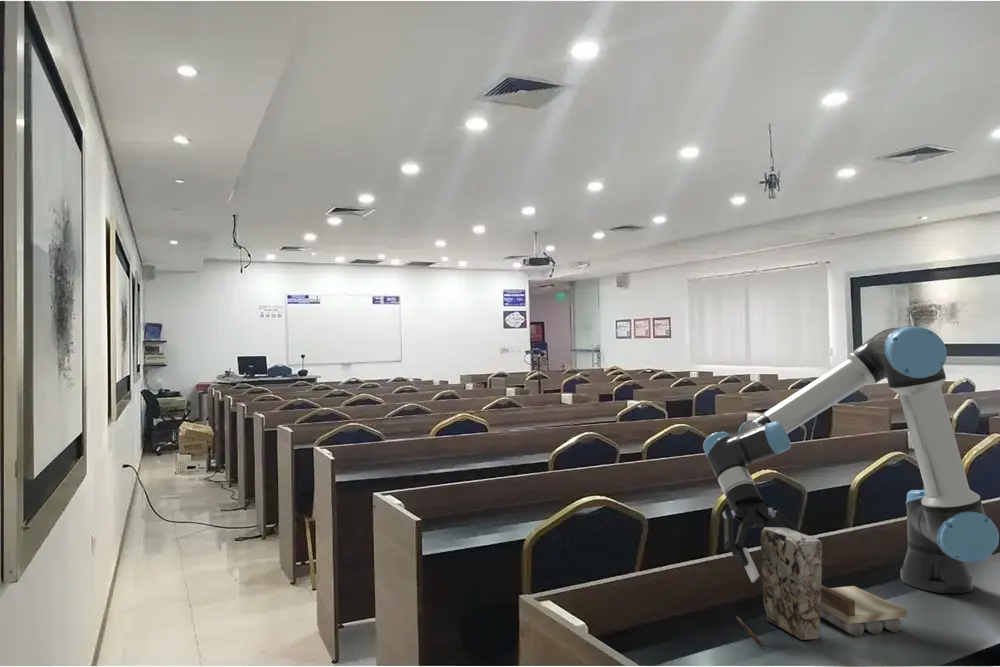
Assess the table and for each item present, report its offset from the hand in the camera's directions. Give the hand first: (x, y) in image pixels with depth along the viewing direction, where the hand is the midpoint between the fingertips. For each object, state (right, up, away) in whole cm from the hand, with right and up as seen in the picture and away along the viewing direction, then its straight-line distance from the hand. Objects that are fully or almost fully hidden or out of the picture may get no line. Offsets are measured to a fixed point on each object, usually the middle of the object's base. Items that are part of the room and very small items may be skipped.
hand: (782, 576), depth 145 cm
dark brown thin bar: (-9, -10, -5) cm, 14 cm away
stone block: (+1, -10, -3) cm, 11 cm away
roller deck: (+15, -10, +1) cm, 18 cm away
